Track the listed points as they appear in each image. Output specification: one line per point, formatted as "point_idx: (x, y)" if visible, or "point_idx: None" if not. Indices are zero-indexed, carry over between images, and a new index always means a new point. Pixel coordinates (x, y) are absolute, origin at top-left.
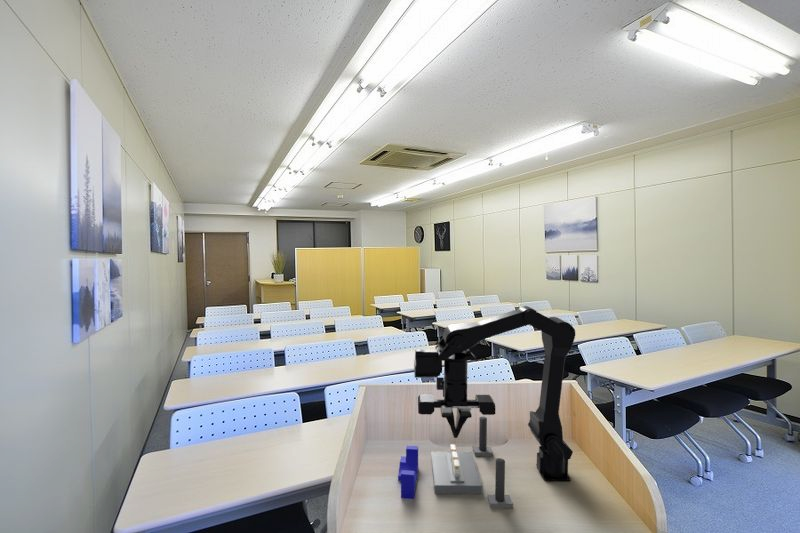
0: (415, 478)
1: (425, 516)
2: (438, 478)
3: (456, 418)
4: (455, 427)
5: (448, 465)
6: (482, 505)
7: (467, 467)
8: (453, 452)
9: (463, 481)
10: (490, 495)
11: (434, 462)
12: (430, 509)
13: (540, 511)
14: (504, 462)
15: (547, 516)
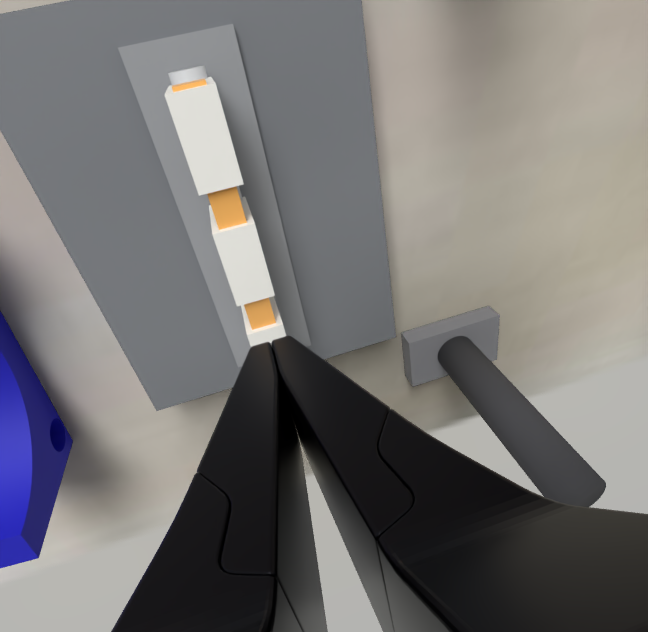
0: (7, 369)
1: (165, 490)
2: (159, 358)
3: (349, 501)
4: (293, 403)
5: (190, 234)
6: (377, 373)
7: (322, 204)
8: (229, 242)
9: (306, 344)
10: (421, 344)
11: (63, 206)
12: (173, 459)
13: (574, 332)
14: (597, 499)
15: (585, 347)
